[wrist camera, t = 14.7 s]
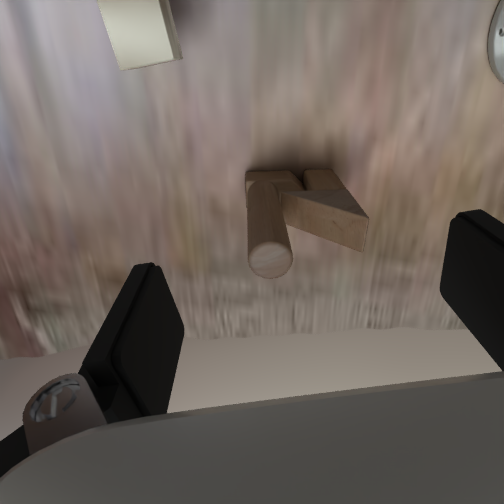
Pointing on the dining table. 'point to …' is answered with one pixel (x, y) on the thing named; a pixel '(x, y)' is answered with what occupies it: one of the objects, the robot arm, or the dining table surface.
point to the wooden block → (298, 216)
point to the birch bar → (141, 32)
